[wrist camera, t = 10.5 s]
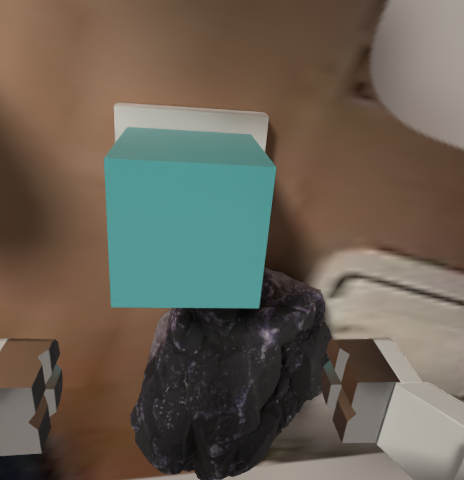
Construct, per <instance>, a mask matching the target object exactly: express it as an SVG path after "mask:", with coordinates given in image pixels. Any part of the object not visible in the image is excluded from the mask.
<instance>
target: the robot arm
mask: <svg viewBox="0 0 464 480" xmlns="http://www.w3.org/2000/svg"><path fill="white" fill-rule="evenodd" d="M326 353H327V355H328V357H329V359H330V360H329V361H328V362H327V363H326V364H325V365H324V366H323V371H322V377H321V380H322V392H323V396H324V399H325V402H326V404H327V406H329V407H330V408H331V409H332V410H334V411H335V412H334V416H333V422H334V424H335V427H336V429H337V432H338V434H339V437H340V439H341V441H342V443H377V445H378V446H379V447H380V448H381V449H382V450H383V451H384V452H385V453H386V454H387V455H388V456H389V457H391V458H392V459H393V460H394V461H395V462H396V463H397V464H398V465H399V466H400V467H401V468H402V469H403V470H404V471H405V472H406V473H407V474H408V475H410V476H411V477H412V478H413V479H414V480H464V403H463V402H462V401H460V400H458V399H457V398H455V397H453V396H451V395H450V394H448V393H446V392H445V391H443V390H441V389H440V388H438V387H436V386H435V385H433V384H431V383H430V382H423V381H422V380H421V378H420V377H419V376H418V374H417V373H416V372H415V370H414V369H413V367H412V366H411V365H410V363H409V362H408V361H407V359H406V358H405V356H404V355H403V354H402V352H401V351H400V350H399V348H398V347H397V345H396V344H395V343H394V341H393V340H392V339H390V338H369V339H331V340H330V342H329V343H328V347H327V351H326ZM59 355H60V352H59V345H58V342H57V341H56V339H14V338H11V339H2V338H0V456H6V455H22V454H38V453H42V450H43V448H44V445H45V442H46V439H47V437H48V434H49V431H50V428H51V425H50V416H51V415H52V414H54V413H55V412H56V411H57V408H58V405H59V402H60V398H61V392H62V369H61V368H60V367H59V366H58V365H57V364H56V362H57V360H58V357H59Z"/></svg>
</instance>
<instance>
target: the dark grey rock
mask: <svg viewBox="0 0 464 480" xmlns="http://www.w3.org/2000/svg"><path fill="white" fill-rule="evenodd" d="M324 312H325V302H324V301H323V298H322V293H321V290H319V289H315V288H312V287H310V286H309V284H306V283H303V282H300V281H297V280H295V279H292V278H290V277H288V276H287V275H286V274H284V273H283V272H276V271H272V270H270V269H269V268H266V267H264V273H263V281H262V289H261V297H260V305H259V308H172V309H171V310H169V311H168V312H167V313H165V314H164V315H163V316H162V317H161V318H160V319H159V321H158V324H157V327H156V331H155V335H154V339H153V342H152V346H151V351H150V356H149V359H148V364H147V367H146V370H145V372H144V380H143V383H142V390H141V393H140V396H139V399H138V401H137V403H136V405H135V407H134V408H133V410H132V412H131V415H130V420H131V426H132V428H133V429H134V431H135V442H136V444H137V445H138V447H139V449H140V450H141V451H142V453H143V454H144V456H145V457H146V458H147V460H148V461H149V462H150V463H151V464H152V465H153V466H154V467H155V468H156V469H158V470H159V471H161V472H162V473H164V474H178V473H180V472H181V471H183V470H184V471H188V472H190V471H192V470H194V471H195V473H196V475H197V477H198V479H200V480H215V479H216V480H221V479H223V478H225V477H227V476H231V477H234V476H237V475H239V474H242V473H244V472H246V471H248V470H250V469H251V468H253V467H254V466H256V465H257V464H258V463H260V462H261V461H262V460H263V459H264V458H265V456H266V454H267V451H268V449H269V448H270V446H271V444H272V442H273V440H274V439H275V438H276V437H277V436H278V435H279V434H280V433H281V432H282V431H281V429H282V428H285V427H287V426H288V424H289V423H290V422H291V421H292V419H293V418H294V416H295V414H296V413H298V412H300V409H301V407H302V406H303V404H304V402H305V401H306V400H312V399H313V398H314V397H316V396H317V395H319V394H320V393H321V392H322V380H321V377H322V371H323V366H324V365H325V364H326V363H327V362H328V361H329V360H330V359H329V357H328V355H327V353H326V351H327V347H328V343H329V342H330V340H331V339H332V337H331V334H330V330H329V328H328V327H327V325H326V324H325V322H324V320H325V319H324Z"/></svg>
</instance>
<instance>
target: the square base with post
mask: <svg viewBox="0 0 464 480" xmlns="http://www.w3.org/2000/svg"><path fill="white" fill-rule="evenodd" d="M268 121H269V116H268V115H267V114H266V113H264V112H253V111H239V110H224V109H209V108H194V107H179V106H164V105H149V104H134V103H120V102H118V103H117V104H116V105H114V123H115V143H116V141H117V140H118V139H119V137H120V136H121V135H122V133H123V132H124V131H125V129H126V128H127V127H138V128H154V129H171V130H188V131H204V132H221V133H238V134H251V135H252V136H253V138H254V139H255V140H256V142H257V143H258V144H259V145H260V147H261V148H262V149H263V151H264V152H265V148H266V139H267V130H268Z"/></svg>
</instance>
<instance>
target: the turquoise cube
mask: <svg viewBox="0 0 464 480" xmlns="http://www.w3.org/2000/svg"><path fill="white" fill-rule="evenodd" d="M104 168H105V189H106V210H107V231H108V252H109V272H110V293H111V307H140V308H259V305H260V297H261V289H262V281H263V273H264V265H265V256H266V248H267V240H268V232H269V224H270V215H271V207H272V199H273V191H274V183H275V174H276V166H275V165H274V163H273V162H272V161H271V160H270V158H269V157H268V156H267V154H266V153H265V152H264V151H263V149H262V148H261V147H260V145H259V144H258V143H257V142H256V140H255V139H254V138H253V136H252V135H251V134H238V133H221V132H204V131H188V130H171V129H154V128H138V127H127V128H126V129H125V131H124V132H123V133H122V135H121V136H120V137H119V139H118V140H117V141H116V143H115V144H114V146H113V147H112V148H111V150H110V151H109V152H108V154H107V155H106V156H105V158H104Z"/></svg>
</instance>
